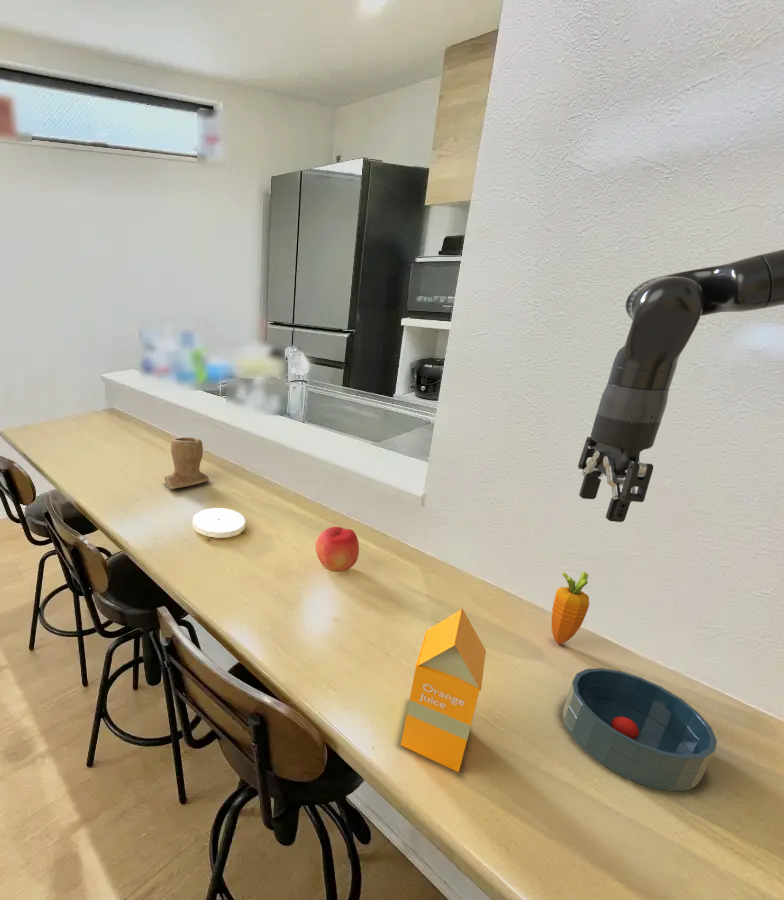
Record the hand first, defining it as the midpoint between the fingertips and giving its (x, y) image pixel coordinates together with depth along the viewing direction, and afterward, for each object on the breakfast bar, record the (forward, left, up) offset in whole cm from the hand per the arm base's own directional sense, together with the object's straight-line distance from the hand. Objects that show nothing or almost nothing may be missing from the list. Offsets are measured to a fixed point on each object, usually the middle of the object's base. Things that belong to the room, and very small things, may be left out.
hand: (599, 508), depth 81 cm
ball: (-6, +19, -25) cm, 33 cm away
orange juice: (+17, +33, -28) cm, 46 cm away
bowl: (-7, +19, -28) cm, 34 cm away
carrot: (0, 0, -28) cm, 28 cm away
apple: (+42, -3, -28) cm, 50 cm away
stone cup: (+98, -27, -28) cm, 105 cm away
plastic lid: (+74, -6, -28) cm, 79 cm away
